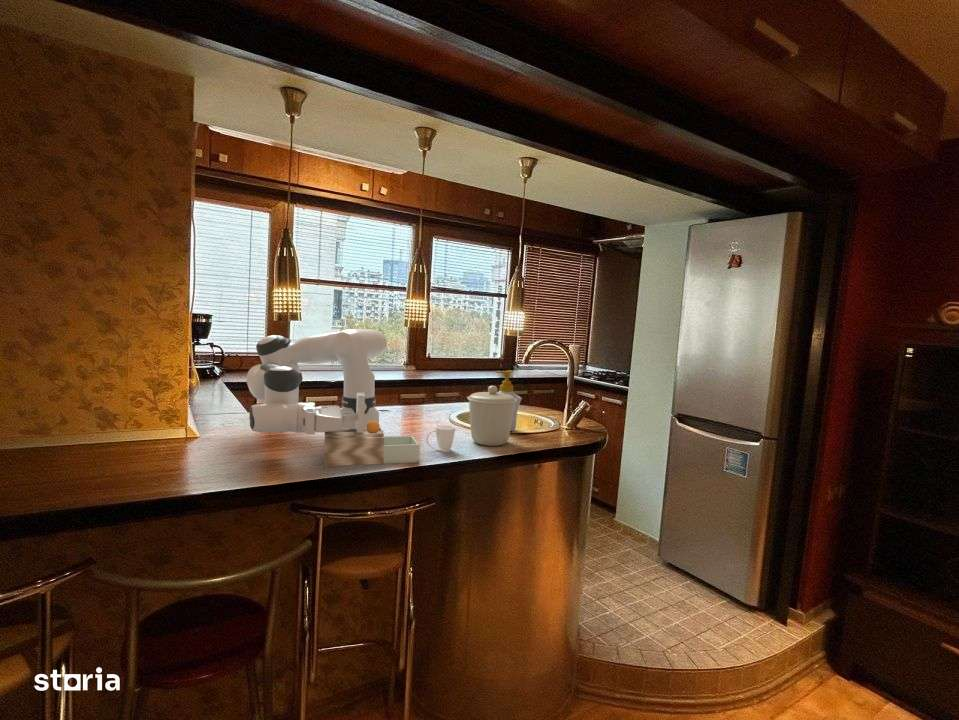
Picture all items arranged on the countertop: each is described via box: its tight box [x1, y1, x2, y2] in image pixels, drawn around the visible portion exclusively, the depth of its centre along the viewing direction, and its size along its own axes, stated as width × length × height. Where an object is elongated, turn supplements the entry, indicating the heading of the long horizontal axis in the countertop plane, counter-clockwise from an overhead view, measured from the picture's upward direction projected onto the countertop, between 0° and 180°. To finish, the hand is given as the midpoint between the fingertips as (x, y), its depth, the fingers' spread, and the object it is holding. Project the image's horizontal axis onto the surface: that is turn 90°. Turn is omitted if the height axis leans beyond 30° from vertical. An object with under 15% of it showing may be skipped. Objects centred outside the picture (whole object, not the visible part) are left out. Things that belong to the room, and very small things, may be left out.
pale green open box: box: [382, 435, 420, 465], centre depth 155 cm, size 11×11×6 cm
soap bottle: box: [496, 369, 523, 432], centre depth 200 cm, size 13×13×25 cm
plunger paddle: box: [356, 393, 365, 434], centre depth 151 cm, size 2×6×12 cm, turn 18°
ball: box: [366, 421, 381, 433], centre depth 152 cm, size 4×4×4 cm
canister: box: [466, 385, 517, 447], centre depth 179 cm, size 18×18×21 cm
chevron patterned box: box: [323, 427, 385, 467], centre depth 151 cm, size 17×11×9 cm
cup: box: [426, 424, 457, 453], centre depth 166 cm, size 7×10×8 cm
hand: (356, 416), depth 150 cm, fingers closed, pressing on plunger paddle
